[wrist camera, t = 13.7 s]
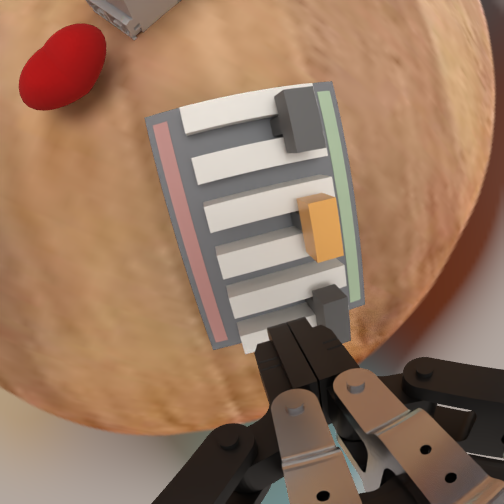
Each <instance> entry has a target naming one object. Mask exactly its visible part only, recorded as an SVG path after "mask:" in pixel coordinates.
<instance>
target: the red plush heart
mask: <svg viewBox="0 0 504 504" xmlns="http://www.w3.org/2000/svg"><path fill="white" fill-rule="evenodd" d="M105 56H106V41H105V37H104V35H103V34H102V32H101V30H99V29H98V28H97V27H95V26H93V25H89V24H73V25H70V26H66V27H64V28H62V29H60V30H59V31H57V32H56V33H55V34H53V35H52V36H51V37H50V38H49V39H48V40H47V42H46V43H45V45H44V46H43V47H42V48H41V49H39V50H38V51H37V52H36V53H35V54H34V55H33V56H32V57H31V58H30V59H29V60H28V62H27V63H26V64H25V66H24V68H23V70H22V72H21V75H20V79H19V92H20V96H21V98H22V100H23V102H24V103H25V104H26V105H27V106H28V107H30V108H33V109H36V110H52V109H57V108H60V107H63V106H66V105H68V104H70V103H73V102H75V101H76V100H78V99H80V98H82V97H83V96H85V95H86V94H88V93H89V92H90V90H91V89H92V87H93V86H94V84H95V82H96V81H97V79H98V77H99V75H100V72H101V70H102V67H103V64H104V61H105Z"/></svg>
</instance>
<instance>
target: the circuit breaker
mask: <svg viewBox="0 0 504 504" xmlns="http://www.w3.org/2000/svg"><path fill="white" fill-rule="evenodd" d="M86 1H87V3H88V4H89V5H90V7H92V8H93V9H94V10H93V11H94V12H96V13H97V14H99V15H100V16H101V17H103V18H104V19H106V20H107V21H109V22H110V23H111V24H113V25H114V26H115V27H117V28H118V29H120V30H121V31H122V32H124V33H125V34H126V35H128V36H129V37H130V38H132V39H133V40H134V41H135V40H136V39H137V37H136V35H137V34H138V33H139V32H140V31H142V32H144V31H145V30H147V29H148V28H149V27H150V26H151V25H152V24H153V23H154V22H156V21H157V20H158V19H159V18H160V17H161V16H163V15H164V14H165V13H166V12H167V11H169V10H170V9H171V8H172V7H173V6H175V5H176V4H177V3H178V2H180V1H181V0H86Z"/></svg>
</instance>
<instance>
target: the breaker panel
mask: <svg viewBox="0 0 504 504" xmlns="http://www.w3.org/2000/svg"><path fill="white" fill-rule="evenodd" d="M145 122H146V126H147V130H148V135H149V139H150V143H151V147H152V151H153V155H154V159H155V163H156V167H157V171H158V175H159V179H160V183H161V186H162V190H163V194H164V197H165V201H166V205H167V208H168V212H169V215H170V219H171V222H172V226H173V229H174V232H175V236H176V239H177V243H178V246H179V249H180V252H181V256H182V259H183V262H184V265H185V268H186V272H187V275H188V278H189V281H190V284H191V287H192V290H193V293H194V296H195V299H196V302H197V305H198V308H199V311H200V314H201V317H202V320H203V323H204V325H205V328H206V331H207V334H208V337H209V339H210V342H211V345H212V348H213V350H216V349H220V348H224V347H228V346H231V345H235V344H239V343H242V345H243V348H244V351H245V354H248V353H252V352H255V350H256V347H257V344H259V343H262V342H266V341H269V337H268V332H267V328H268V327H271V326H275V325H278V324H282V323H286V322H288V321H292V320H295V319H298V318H301V317H306V319H307V320H308V322H309V323H310V325H311V326H312V327H315V326H318V325H323V326H325V327H327V328H329V329H331V330H332V331H333V333H334V334H335V335H336V337H337V339H339V340H340V342H341V343H345V342H348V341H351V335H350V319H349V310H350V309H353V308H356V307H359V306H362V305H364V304H365V297H364V282H363V269H362V257H361V247H360V237H359V229H358V220H357V212H356V205H355V197H354V191H353V184H352V177H351V171H350V165H349V159H348V154H347V148H346V143H345V138H344V133H343V128H342V123H341V118H340V113H339V109H338V104H337V100H336V95H335V91H334V87H333V83H332V81H331V82H319V83H307V84H299V85H291V86H283V87H276V88H270V89H264V90H258V91H252V92H246V93H241V94H236V95H231V96H226V97H221V98H216V99H212V100H208V101H203V102H199V103H195V104H191V105H187V106H183V107H179V108H177V109H173V110H169V111H166V112H162V113H159V114H156V115H152V116H149V117H146V118H145ZM318 193H324V194H327V195H330V196H333V197H336V202H337V208H338V215H339V222H340V229H341V237H342V244H343V253H344V256H340V257H337V258H334V259H330V260H327V261H323V262H320V263H317V262H316V261H315V260H314V259H313V258H312V257H311V256H310V255H309V254H308V253H307V252H306V248H305V242H304V237H303V232H302V231H301V230H299V229H298V228H297V227H296V226H294V225H293V224H292V219H291V214H290V213H291V212H295V211H299V209H298V204H297V198H301V197H305V196H310V195H314V194H318Z"/></svg>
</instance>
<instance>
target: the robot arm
mask: <svg viewBox="0 0 504 504" xmlns="http://www.w3.org/2000/svg"><path fill="white" fill-rule="evenodd" d="M267 332H268V337H269V341H266V342H262V343H259V344H257V347H256V350H255V353H254V354H255V357H256V361H257V365H258V368H259V372H260V376H261V379H262V383H263V386H264V389H265V392H266V395H267V398H268V401H269V404H270V405H269V409H268V411H267V413H266V414H265V415H264V416H263V417H262V418H261V419H260V420H259V421H257V422H255V423H254V424H252V425H250V426H248V427H246V426H244V425H242V424H235V423H232V424H225V425H222V426H220V427H218V428H216V429H214V430H213V431H212V432H211V433H210V434H209V435H208V436H207V438H206V439H205V440H204V442H203V443H202V444H201V445H200V447H199V448H198V449H197V450H196V452H195V453H194V454H193V455H192V457H191V458H190V459H189V460H188V462H187V463H186V464H185V465H184V466H183V467H182V469H181V470H180V471H179V472H178V473H177V475H176V476H175V477H174V478H173V480H172V481H171V482H170V483H169V484H168V485H167V486H166V488H165V489H164V490H163V491H162V492H161V493H160V494H159V496H158V497H157V498H156V499H155V500H154V501H153V502H152V504H261V502H262V500H263V499H264V497H265V496H266V494H267V492H268V491H269V489H270V486H271V484H272V483H274V482H276V481H277V480H279V479H280V478H282V477H284V478H285V483H286V487H287V492H288V497H289V501H290V504H504V461H502V460H497V459H491V458H486V457H481V456H476V455H471V454H467V453H466V452H469V453H474V454H480V455H486V456H493V457H500V458H504V370H501V369H494V368H488V367H481V366H475V365H468V364H462V363H456V362H451V361H445V360H440V359H434V358H429V357H421V358H416V359H414V360H412V361H410V362H409V363H407V365H406V366H405V367H404V370H403V373H401V374H396V375H390V376H376V375H375V374H374V373H373V372H371V371H369V370H366V369H362V368H360V367H359V366H358V364H357V363H356V362H355V360H354V359H353V358H352V356H351V355H350V354H349V352H348V351H347V350H346V348H345V347H344V346H343V345H342V343H341V342H340V340H339V339H337V337H336V335H335V334H334V333H333V331H332V330H331V329H329V328H327V327H325V326H323V325H318V326H315V327H312V326H311V325H310V323H309V322H308V320H307V319H306V317H301V318H298V319H295V320H292V321H288V322H286V323H282V324H278V325H275V326H271V327H268V328H267ZM437 403H438V404H442V405H447V406H452V407H457V408H463V409H468V410H472V411H468V412H466V411H461V410H456V409H450V408H445V407H441V406H437ZM331 423H332V424H333V426H334V427H335V429H336V439H337V441H338V443H339V444H340V446H341V447H342V449H343V451H344V452H345V454H346V455H347V457H348V458H349V460H350V461H351V463H352V465H353V466H354V467H355V469H356V471H357V472H358V474H359V475H360V477H361V479H362V481H363V485H364V489H365V491H366V493H360V494H358V491H357V489H356V486H355V484H354V481H353V479H352V476H351V473H350V471H349V468H348V466H347V463H346V461H345V458H344V456H343V453H342V451H341V449H340V448H339V447H336V445H335V443H334V441H333V438H332V435H331V433H330V430H329V427H328V424H331Z"/></svg>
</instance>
